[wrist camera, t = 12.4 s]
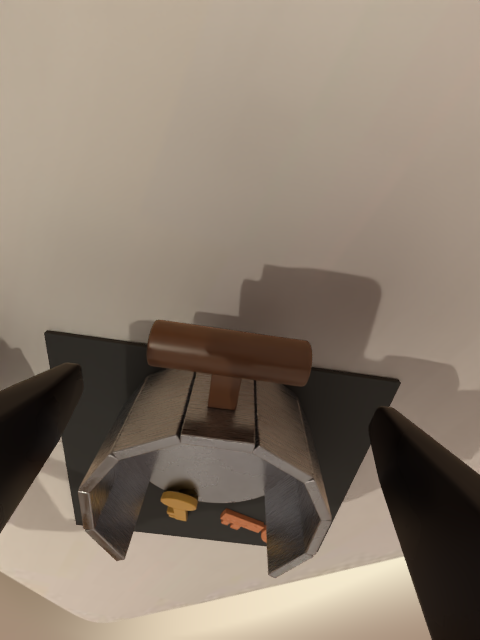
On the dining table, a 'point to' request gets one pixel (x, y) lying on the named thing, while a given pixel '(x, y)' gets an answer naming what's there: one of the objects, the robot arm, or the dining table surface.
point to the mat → (203, 523)
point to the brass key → (178, 504)
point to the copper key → (243, 522)
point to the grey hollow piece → (214, 439)
